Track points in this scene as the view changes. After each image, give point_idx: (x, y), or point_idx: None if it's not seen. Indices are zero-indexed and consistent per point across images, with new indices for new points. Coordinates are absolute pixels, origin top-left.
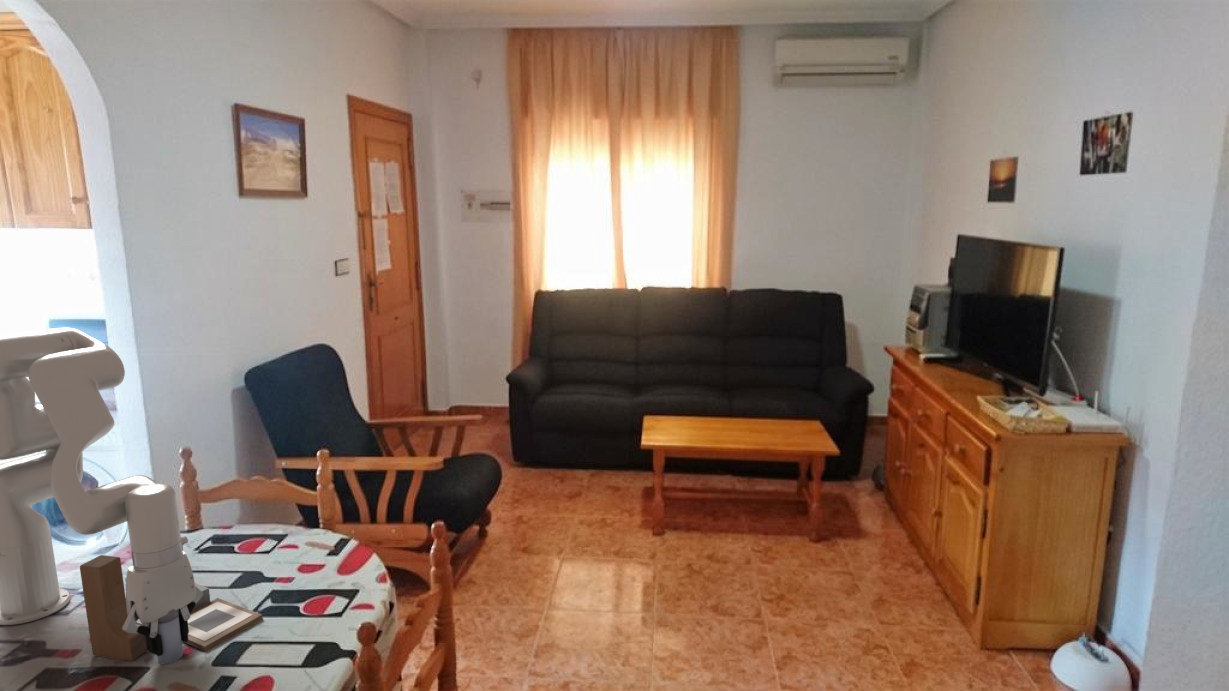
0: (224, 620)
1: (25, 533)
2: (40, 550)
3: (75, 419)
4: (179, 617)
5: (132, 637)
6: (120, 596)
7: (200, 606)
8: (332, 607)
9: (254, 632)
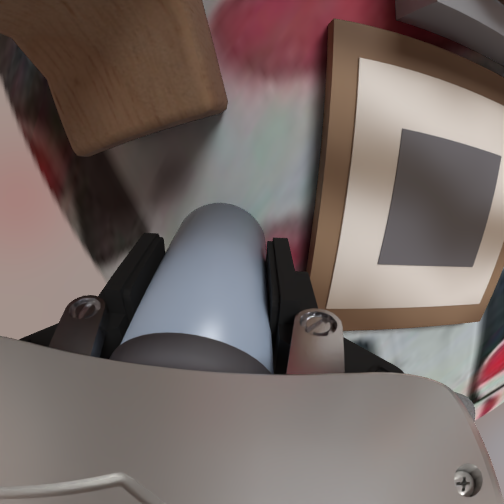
0: (450, 255)
1: None
2: None
3: None
4: (281, 368)
5: (92, 150)
6: None
7: (497, 60)
8: (495, 379)
9: (415, 346)
